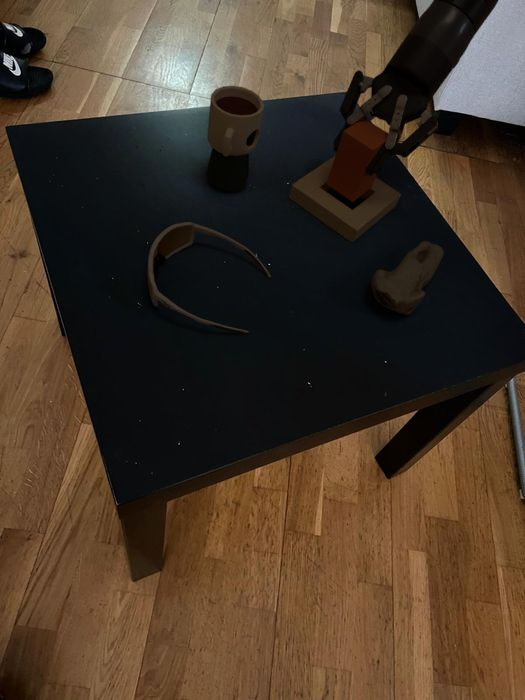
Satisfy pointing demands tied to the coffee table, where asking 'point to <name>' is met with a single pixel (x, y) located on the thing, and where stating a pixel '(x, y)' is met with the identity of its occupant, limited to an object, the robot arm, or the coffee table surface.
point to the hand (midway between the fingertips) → (352, 162)
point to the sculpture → (407, 279)
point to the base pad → (336, 214)
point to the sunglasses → (174, 242)
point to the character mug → (232, 135)
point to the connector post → (356, 159)
